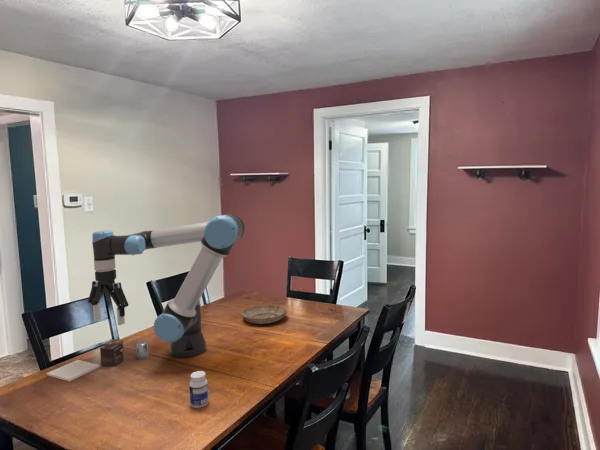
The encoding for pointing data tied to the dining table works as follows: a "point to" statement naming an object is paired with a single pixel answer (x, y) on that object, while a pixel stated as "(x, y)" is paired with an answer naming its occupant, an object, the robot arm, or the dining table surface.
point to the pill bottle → (198, 389)
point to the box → (111, 354)
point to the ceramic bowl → (263, 314)
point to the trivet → (73, 370)
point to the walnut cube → (116, 342)
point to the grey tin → (142, 350)
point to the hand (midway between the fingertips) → (109, 322)
